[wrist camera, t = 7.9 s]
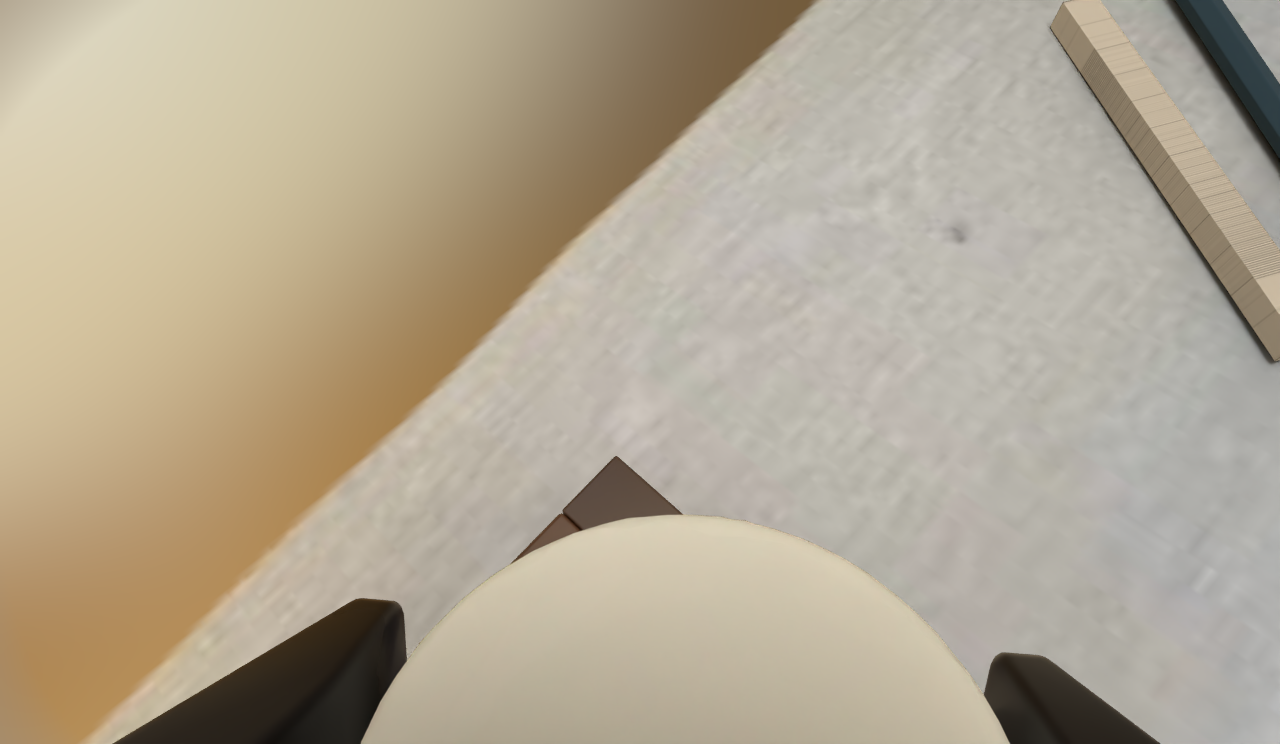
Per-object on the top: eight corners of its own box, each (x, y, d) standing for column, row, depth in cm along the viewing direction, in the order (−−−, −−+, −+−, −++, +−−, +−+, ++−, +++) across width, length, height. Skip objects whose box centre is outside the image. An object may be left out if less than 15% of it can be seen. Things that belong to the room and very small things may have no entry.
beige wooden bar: (1049, 27, 28) (1063, 2, 28) (1081, 19, 29) (1095, -6, 28) (1274, 361, 23) (1299, 344, 22) (1312, 350, 24) (1338, 332, 23)
